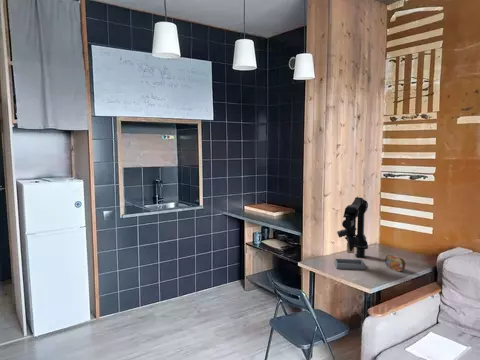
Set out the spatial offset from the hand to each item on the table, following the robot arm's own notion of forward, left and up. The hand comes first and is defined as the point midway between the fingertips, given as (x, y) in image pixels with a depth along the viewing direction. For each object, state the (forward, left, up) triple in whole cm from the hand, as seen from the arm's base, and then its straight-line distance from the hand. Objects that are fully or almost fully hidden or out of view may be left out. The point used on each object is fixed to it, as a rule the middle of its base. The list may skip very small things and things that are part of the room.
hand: (350, 249), depth 238 cm
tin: (+1, +28, -11) cm, 30 cm away
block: (0, 0, -2) cm, 2 cm away
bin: (0, 0, -11) cm, 11 cm away
